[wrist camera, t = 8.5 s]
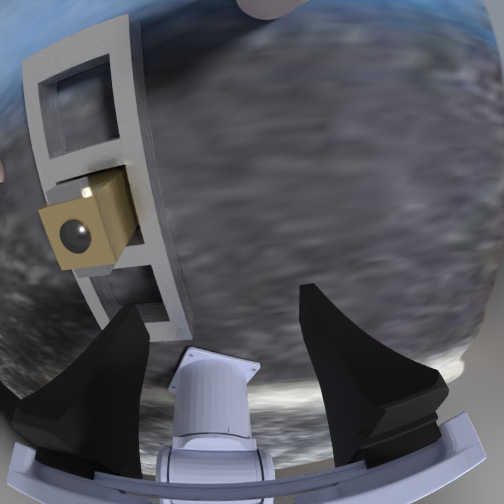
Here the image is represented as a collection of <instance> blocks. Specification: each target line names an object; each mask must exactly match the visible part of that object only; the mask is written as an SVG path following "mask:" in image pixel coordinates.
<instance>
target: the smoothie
mask: <svg viewBox="0 0 504 504" xmlns="http://www.w3.org/2000/svg"><path fill="white" fill-rule="evenodd" d="M308 1H309V0H236V2H237V4H238V6H239V7H240V9H241V10H242V11H243V12H245V13H246V14H247V15H249V16H251V17H254V18H257V19H262V20H273V19H277V18H280V17H282V16H284V15H286V14H287V13H289V12H291V11H292V10H294V9H296V8H297V7H299V6H301V5H302V4H304V3H306V2H308Z"/></svg>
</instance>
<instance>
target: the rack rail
mask: <svg viewBox="0 0 504 504" xmlns="http://www.w3.org/2000/svg"><path fill="white" fill-rule="evenodd" d="M108 62H110V67H111V77H112V86H113V94H114V102H115V109H116V116H117V122H118V128H119V134H120V136H118V137H114V138H110V139H107V140H103V141H99V142H96V143H93V144H89V145H86V146H83V147H79V148H76V149H73V150H70V151H68V150H67V146H66V141H65V135H64V130H63V124H62V118H61V111H60V104H59V97H58V88H57V82H59V81H61V80H64V79H66V78H68V77H71V76H73V75H76V74H78V73H81V72H83V71H86V70H88V69H91V68H94V67H97V66H99V65H102V64H105V63H108ZM22 72H23V86H24V97H25V105H26V113H27V120H28V126H29V132H30V138H31V143H32V148H33V152H34V157H35V161H36V166H37V170H38V174H39V178H40V181H41V185H42V188H43V192H44V195H45V199H46V202H48V199H47V195H46V192H47V191H48V190H49V189H51V188H52V187H54V186H56V185H60V184H63V183H66V182H70V181H73V180H74V177H76V176H80V175H84V174H87V173H91V172H95V171H99V170H103V169H107V168H111V167H115V166H120V165H124V164H125V166H126V170H127V175H128V180H129V184H130V188H131V193H132V197H133V201H134V205H135V209H136V213H137V217H138V221H139V224H140V228H141V229H138V230H135V231H134V233H133V235H132V236H131V238H130V240H129V242H128V243H127V245H126V247H125V249H124V250H123V252H122V254H121V256H120V258H119V259H118V261H117V263H116V264H115V266H114V268H113V269H116V268H125V267H134V266H143V265H151V266H152V269H153V272H154V275H155V278H156V281H157V284H158V287H159V290H160V293H161V296H162V299H163V302H154V303H141V304H136V307H137V309H138V311H139V313H140V316H141V318H142V320H143V322H144V324H145V326H146V328H147V330H148V333H149V335H150V342H155V341H176V340H192V339H193V330H194V315H193V312H192V308H191V305H190V301H189V298H188V294H187V291H186V287H185V283H184V280H183V276H182V272H181V268H180V264H179V260H178V256H177V252H176V248H175V244H174V240H173V236H172V231H171V227H170V223H169V218H168V214H167V209H166V204H165V200H164V195H163V190H162V185H161V180H160V174H159V169H158V164H157V158H156V152H155V146H154V140H153V134H152V128H151V121H150V114H149V107H148V99H147V91H146V83H145V73H144V63H143V52H142V40H141V24H140V22H139V21H137V20H136V19H135V18H134V17H132V16H131V15H130V14H125V15H122V16H119V17H116V18H113V19H110V20H107V21H105V22H102V23H99V24H96V25H94V26H91V27H89V28H86V29H84V30H82V31H79V32H77V33H75V34H72V35H70V36H68V37H66V38H64V39H62V40H60V41H58V42H56V43H54V44H52V45H50V46H48V47H46V48H44V49H42V50H40V51H38V52H37V53H35V54H33V55H31V56H30V57H28V58H26V59H25V60H23V61H22ZM72 271H73V274H74V276H75V278H76V280H77V282H78V284H79V287H80V289H81V291H82V293H83V295H84V297H85V299H86V301H87V303H88V305H89V307H90V309H91V311H92V313H93V315H94V316H95V318H96V320H97V322H98V324H99V326H100V327H101V329H102V330H103V329H104V328H105V327H106V325H107V324H108V323H109V322H110V321H111V319H112V318H113V317H114V316H115V315H116V313H117V312H118V311H119V310H120V309H121V308H122V307H123V306H124V305H119V304H118V302H117V300H116V297H115V295H114V293H113V291H112V288H111V286H110V284H109V281H108V279H107V276H106V275H103V276H94V277H85V278H78V277H77V275H76V273H75V271H74V269H72ZM126 305H134V304H126Z"/></svg>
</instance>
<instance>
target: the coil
mask: <svg viewBox="0 0 504 504" xmlns="http://www.w3.org/2000/svg"><path fill="white" fill-rule="evenodd" d="M4 179H5V169H4V165H3V163H2V162H1V161H0V183H2V182H4Z"/></svg>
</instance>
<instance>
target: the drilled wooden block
mask: <svg viewBox="0 0 504 504" xmlns="http://www.w3.org/2000/svg"><path fill="white" fill-rule="evenodd" d="M46 195H47V199H48V202H47V203H46V204H45V205H44V206H42V207H41V208H40V209H39V210H38V211H39V214H40V217H41V219H42V222H43V225H44V228H45V230H46V233H47V236H48V238H49V241H50V243H51V246H52V248H53V251H54V253H55V256H56V258H57V260H58V263H59V265H60V267H61V269H62V270H69V269H74V271H75V273H76V275H77V277H78V278H85V277H94V276H103V275H110V274H111V272H112V270H113V268H114V266H115V264H116V263H117V261H118V259H119V258H120V256H121V254H122V252H123V250H124V249H125V247H126V245H127V243H128V242H129V240H130V238H131V236H132V235H133V233H134V231H135V230H136V228H137V226H138V225H139V221H138V217H137V213H136V209H135V205H134V201H133V197H132V193H131V188H130V184H129V180H128V175H127V170H126V166H125V167H120V168H116V169H112V170H107V171H103V172H99V173H95V174H92V175H88V176H84V177H82V178H80V179H77V180H73V181H70V182H66V183H63V184H60V185H56V186H54V187H52V188H51V189H49V190H48V191H47V192H46Z"/></svg>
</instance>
